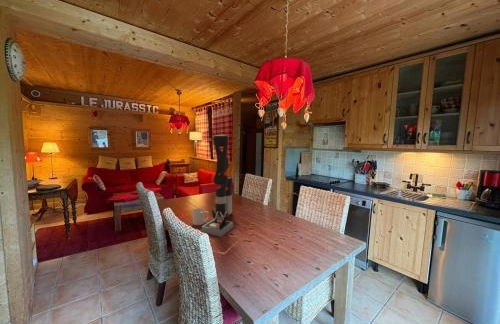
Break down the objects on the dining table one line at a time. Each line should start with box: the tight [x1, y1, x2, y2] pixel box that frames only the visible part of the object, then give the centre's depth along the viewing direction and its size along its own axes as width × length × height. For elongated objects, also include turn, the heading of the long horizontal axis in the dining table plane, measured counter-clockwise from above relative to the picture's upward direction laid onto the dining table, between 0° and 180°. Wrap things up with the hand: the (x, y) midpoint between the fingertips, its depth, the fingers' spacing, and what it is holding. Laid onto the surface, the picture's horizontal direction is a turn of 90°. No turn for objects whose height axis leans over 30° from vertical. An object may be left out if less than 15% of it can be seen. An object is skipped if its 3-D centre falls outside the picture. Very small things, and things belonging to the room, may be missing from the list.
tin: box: [217, 216, 224, 228], centre depth 152 cm, size 5×5×8 cm
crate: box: [201, 218, 234, 237], centre depth 149 cm, size 17×16×5 cm
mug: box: [192, 208, 209, 226], centre depth 161 cm, size 12×9×11 cm
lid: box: [209, 223, 220, 227], centre depth 144 cm, size 5×5×1 cm
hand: (220, 224), depth 152 cm, fingers closed on tin, 5 cm apart
